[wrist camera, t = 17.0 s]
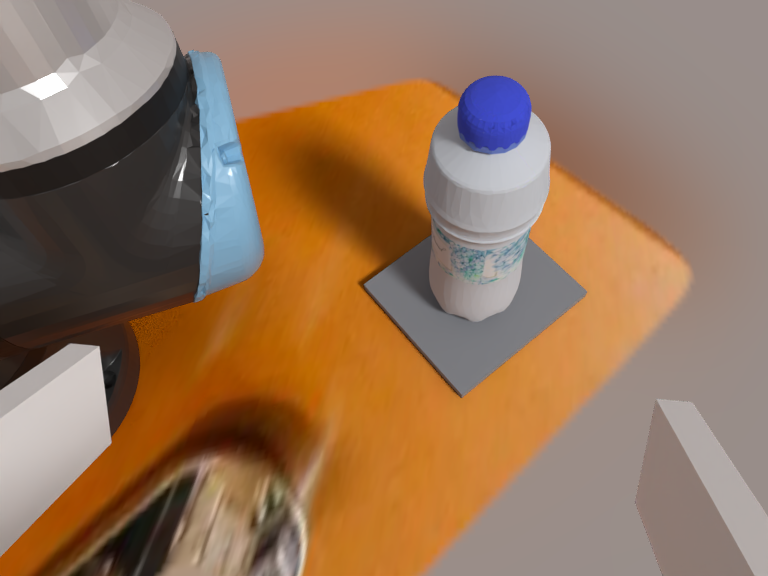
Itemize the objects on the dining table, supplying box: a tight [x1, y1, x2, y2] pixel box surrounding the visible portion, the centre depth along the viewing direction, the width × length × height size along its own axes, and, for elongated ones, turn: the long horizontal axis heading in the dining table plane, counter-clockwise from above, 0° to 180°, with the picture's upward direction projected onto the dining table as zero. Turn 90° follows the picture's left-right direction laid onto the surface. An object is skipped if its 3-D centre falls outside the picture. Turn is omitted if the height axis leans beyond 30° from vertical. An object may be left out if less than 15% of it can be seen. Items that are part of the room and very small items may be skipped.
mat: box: [364, 234, 587, 398], centre depth 46 cm, size 11×12×1 cm
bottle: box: [424, 76, 551, 322], centre depth 37 cm, size 7×7×20 cm
